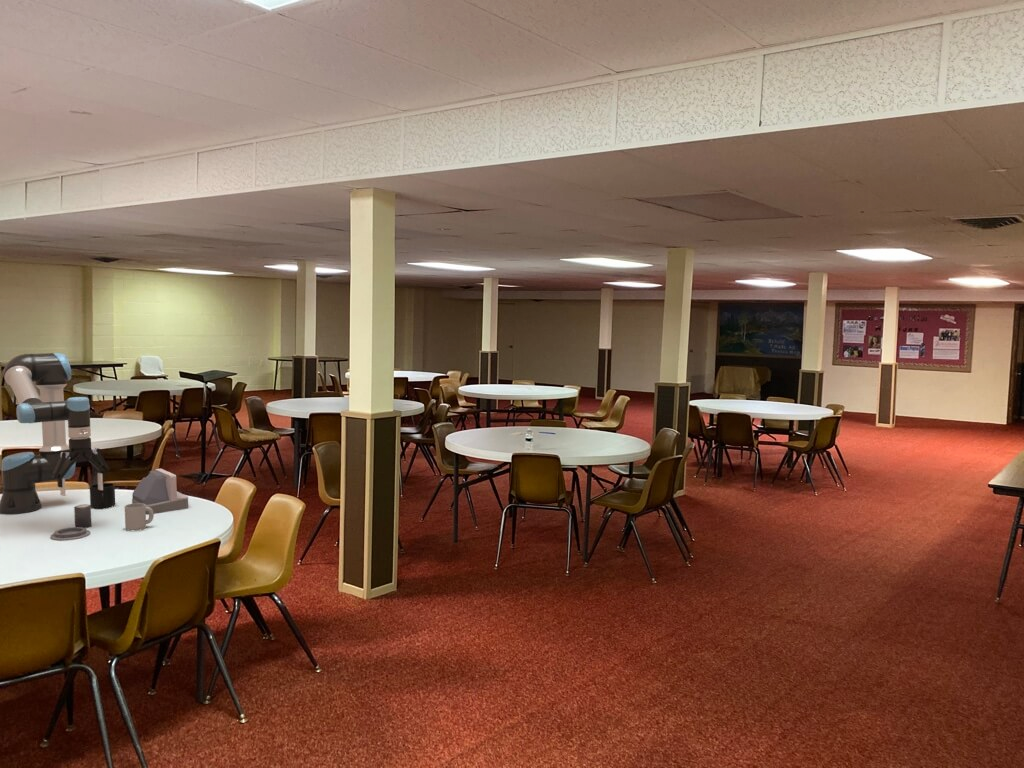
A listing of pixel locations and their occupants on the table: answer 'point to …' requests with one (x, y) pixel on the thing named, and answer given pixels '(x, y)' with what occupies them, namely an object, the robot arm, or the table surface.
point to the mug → (102, 496)
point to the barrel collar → (70, 533)
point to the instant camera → (160, 492)
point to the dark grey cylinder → (82, 515)
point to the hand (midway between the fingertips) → (82, 492)
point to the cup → (137, 516)
